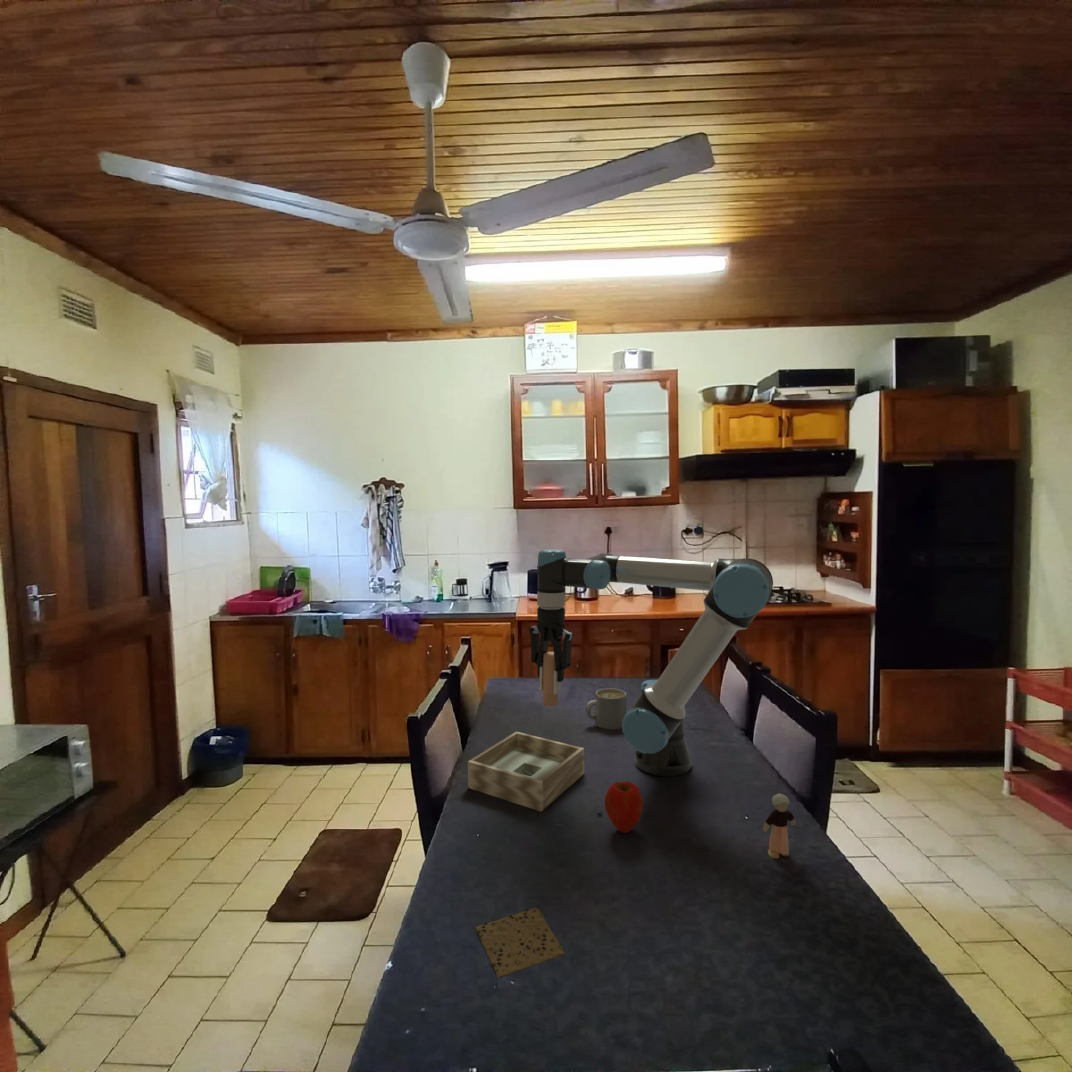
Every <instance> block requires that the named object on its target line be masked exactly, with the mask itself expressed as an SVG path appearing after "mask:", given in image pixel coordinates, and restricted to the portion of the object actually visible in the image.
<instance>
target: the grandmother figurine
mask: <svg viewBox="0 0 1072 1072" xmlns="http://www.w3.org/2000/svg"><path fill="white" fill-rule="evenodd" d="M771 801H772V802H771V804H772V805H773V807H774V808H775V809H774V810H772V812H771V813H770V814H769V815H768V817H767V819H766V820H765V822H764V826H763V827H762V831H763V832H764V833H767V832H768V831H769V829H770V828H771V832H770V835H769V845H768V850H767V853H768V855H769V857H770V858H771V859H774V860H775V859H779V858H780V855H781V856H783V857H788V856H790V849H789V848H790V847H789V835H788V833H789V832H788V821H789V822H790V825H791V826H796V825H797V822H796V820H795V816H794V815H793V813H792V812H791V811H789V810H788V805H789V804H790V799H789V797H787V796H786V795H784V794H782V793H777V794H774V795H773V796H772V798H771ZM771 826H772V827H771Z"/></svg>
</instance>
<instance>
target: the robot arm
mask: <svg viewBox="0 0 1072 1072" xmlns="http://www.w3.org/2000/svg"><path fill="white" fill-rule="evenodd" d="M536 568H537V591H536V592H537V593H536V594H537V595H536V596H537V597H536V598H537V599H536V602H537V603H536V604H537V606H538V607H537V612H536V613H537V615H536V616H537V618H536V619H537V621H538V622H537V623H536V625H533V626H530V627H528V631H529V635H530V656H531V658H530V659H531V662H532V663H534V664H536V666H537V678H539V691H542V692H543V659H544V653H545V652H548V649H549V644H551V646H552V649H553V650H552V652H554V657H555V664H556V669H555V670H554V689H553V694H557V693H558V694H560V693H561V692H562V682H563V681H564V678H565V676H564V674H565V670H566V669H568V668H570V667H571V660H572V644H573V643H572V640H573V638H574V636H575V634H574V632H572V631H568V630H567V629H566V627H565V620H566V608H565V607H564V606H566V587H572V588H579V589H580V588H582V589H590V590H604V589H607V587H608V586H609V584H610V583H619V584H630V585H642V586H643V585H644V586H651V587H652V586H653V587H654V586H655V587H663V588H674V589H685V590H693V591H694V590H696V591H707V592H708V593H707V594H706V596H705V598H704V599H703V605H704V611H703V613H702V614H701V615H700V617H699V618H698V620H697V621H696V622H695V624H694V625H693V627H692V629H691V630H690V631H689V633H688V635H687V636H686V637H685V639H684V641H682V643H681V645H680V646H679V648H678V650H677V651H676V652H675V654H674V656H673V657H672V659H671V660H670V661H669V663H668V664H667V666H666V667H665V669H664V670H663V671H662V673H661V675H660V677H659V678H658V679H646V680H645V681H642V683H641V685H640V686H641V687H640V695H639V696H638V698H636V699H637V700H636V701H635V702H634V704H633V705H632V707H630V709H628V710H627V711H626V714H625V716H624V719H623V722H622V728H621V731H622V733H623V736H624V739H625V740H626V742H627V743H628V744H629V745H630V747H632V748H633V749H635V754H634V763H635V766H636V767H637V768H638V769H640V771H643V772H645V773H647V774H649V775H650V774H651V775H654V776H659V777H677V776H681V775H684V774H686V773H688V772H689V771H690V770H691V768H692V757H691V754H690V751H689V747H688V745H687V742H686V738H685V717H686V714H687V713H686V708H685V707H686V704H688V701H689V700H690V699H691V697H692V695H693V694H694V693H695V691H696V690H697V689H698V687H699V685H700V684H701V683H702V682H703V680H704V679H705V677H706V675H707V674H708V673H709V671H710V669H711V668H712V667H713V665H714V664H715V662H716V661H717V660H718V659H719V657H720V655H722V653H723V651H724V650H725V648H726V647H727V646H728V644H729V643H730V641H731V639H733V637H734V636H735V634H736V633H737V632H738V631H742V630H747V629H748V628H749V627H750V625H751V623H752V622H753V620H755V618H756V617H757V615H758V614H759V612H760V611H762V610H763V609H764V608H765V606H766V605H767V604H768V601H769V598H770V596H771V593H772V591H773V588H774V579H773V575H772V572H771V571H770V569H769V568H768V567H767V566H766V565H765V564H764V563H763V562H761V561H760V560H757V559H754V558H745V557H744V558H717V559H715V560H714V561H703V560H702V561H701V560H687V559H686V560H685V559H675V558H673V559H671V558H657V557H656V558H654V557H641V556H632V555H630V556H629V555H627V556H626V555H614V554H613V553H609V552H608V553H605V552H603V553H600V554H597V555H594V556H591V557H588V558H571V557H570V558H569V557H567V554H566V551H565V550H563V549H556V548H555V549H553V548H551V549H549V548H548V549H546V548H545V549H542V550H540V551H539V552H538V554H537V566H536Z"/></svg>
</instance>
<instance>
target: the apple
mask: <svg viewBox="0 0 1072 1072" xmlns="http://www.w3.org/2000/svg"><path fill="white" fill-rule="evenodd" d="M641 793H642V792H641V790H640V788H639V786H637V785H636V784H635V783H633V782H631V781H617V782H614V783H612V784H611V785H610V786H609V788H608V789H607V790H606V792H605V795H604V807H605V811H606V813H607V816H608V818H609V820H610V821H611V823H612V824H613V826H614V827H615V829H617V830H618V831H619V832H621V833H622V834H627V833H630V832H631V831H632V830H633V829H634V827H636V825H637V823H639V821H640V819H641V816H642V812H643V807H644V801H643V797H642V794H641Z"/></svg>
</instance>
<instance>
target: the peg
mask: <svg viewBox="0 0 1072 1072" xmlns="http://www.w3.org/2000/svg"><path fill="white" fill-rule="evenodd" d="M555 669H556V664H555V657H554V651H547V652H545V653H544V659H543V690H542V695H543V696H542V705H543V706H546V707H555V706H558V704H559V699H558V698H559V696H558V695H559V693H557V694H553V689H554V670H555Z"/></svg>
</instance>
